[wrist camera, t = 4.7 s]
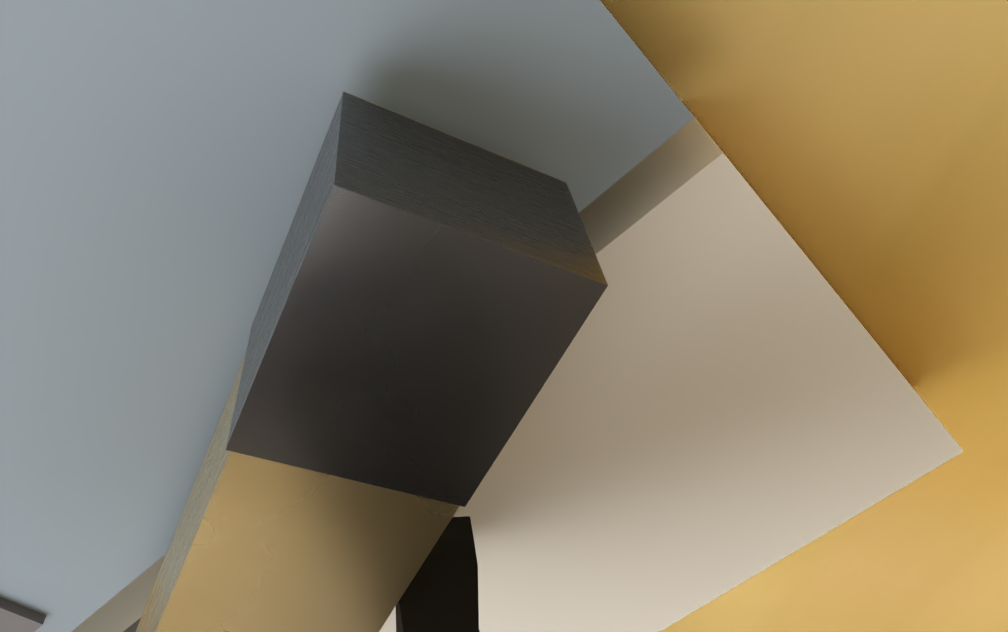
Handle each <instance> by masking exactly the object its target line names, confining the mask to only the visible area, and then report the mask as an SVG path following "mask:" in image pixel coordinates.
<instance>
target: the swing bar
mask: <svg viewBox="0 0 1008 632" xmlns="http://www.w3.org/2000/svg"><path fill="white" fill-rule="evenodd" d="M607 286H608V284H607V282H606V279H605V277H604V274H603V272H602V269H601V267H600V264H599V262H598V259H597V257H596V254H595V252H594V249H593V247H592V245H591V242H590V240H589V237H588V235H587V232H586V230H585V227H584V225H583V222H582V220H581V217H580V215H579V213H578V210H577V208H576V205H575V203H574V200H573V198H572V195H571V193H570V190H569V188H568V185H567V183H566V182H563V181H562V180H560V179H558V178H555V177H553V176H550V175H548V174H546V173H543V172H541V171H538V170H536V169H533V168H531V167H528V166H526V165H524V164H521V163H519V162H516V161H514V160H511V159H509V158H506V157H504V156H502V155H499V154H497V153H494V152H492V151H489V150H487V149H484V148H482V147H479V146H477V145H475V144H472V143H470V142H467V141H465V140H462V139H460V138H457V137H455V136H453V135H450V134H448V133H445V132H443V131H440V130H438V129H435V128H433V127H431V126H428V125H426V124H423V123H421V122H418V121H416V120H413V119H411V118H409V117H406V116H404V115H401V114H399V113H396V112H394V111H391V110H389V109H387V108H384V107H382V106H379V105H377V104H374V103H372V102H369V101H367V100H365V99H362V98H360V97H357V96H355V95H352V94H350V93H346V92H343V93H342V96H341V98H340V101H339V103H338V106H337V109H336V111H335V114H334V116H333V119H332V121H331V124H330V127H329V129H328V132H327V134H326V137H325V139H324V142H323V144H322V147H321V150H320V152H319V155H318V157H317V160H316V162H315V165H314V167H313V170H312V173H311V175H310V178H309V180H308V183H307V185H306V188H305V190H304V193H303V196H302V198H301V201H300V203H299V206H298V208H297V211H296V213H295V216H294V219H293V221H292V224H291V226H290V229H289V231H288V234H287V237H286V239H285V242H284V244H283V247H282V249H281V252H280V254H279V257H278V260H277V262H276V265H275V267H274V270H273V272H272V275H271V277H270V280H269V283H268V285H267V288H266V290H265V293H264V295H263V298H262V300H261V303H260V306H259V308H258V311H257V313H256V316H255V318H254V321H253V323H252V327H251V331H250V336H249V341H248V346H247V350H246V353H245V356H244V358H243V361H242V363H241V366H240V368H239V371H238V373H237V376H236V378H235V381H234V383H233V386H232V389H231V391H230V394H229V396H228V399H227V401H226V404H225V406H224V409H223V411H222V414H221V416H220V419H219V421H218V424H217V427H216V429H215V432H214V434H213V437H212V439H211V442H210V444H209V447H208V449H207V452H206V454H205V457H204V460H203V462H202V465H201V467H200V470H199V472H198V475H197V477H196V480H195V482H194V485H193V487H192V490H191V492H190V495H189V498H188V500H187V503H186V505H185V508H184V510H183V513H182V515H181V518H180V520H179V523H178V525H177V528H176V530H175V533H174V536H173V538H172V541H171V543H170V546H169V548H168V551H167V553H166V556H165V558H164V561H163V563H162V566H161V569H160V571H159V574H158V576H157V579H156V581H155V584H154V586H153V589H152V591H151V594H150V596H149V599H148V601H147V604H146V607H145V609H144V612H143V614H142V617H141V619H140V622H139V624H138V627H137V629H136V632H379V631H380V630H381V628H382V626H383V625H384V623H385V622H386V620H387V619H388V617H389V616H390V614H391V612H392V611H393V609H394V608H395V606H396V605H397V603H398V601H399V600H400V598H401V597H402V595H403V594H404V592H405V591H406V589H407V587H408V586H409V584H410V583H411V581H412V580H413V578H414V577H415V575H416V573H417V572H418V570H419V569H420V567H421V566H422V564H423V562H424V561H425V559H426V558H427V556H428V555H429V553H430V552H431V550H432V548H433V547H434V545H435V544H436V542H437V541H438V539H439V537H440V536H441V534H442V533H443V531H444V530H445V528H446V527H447V525H448V523H449V522H450V520H451V519H452V517H453V516H454V514H455V512H456V511H457V509H458V508H459V506H463V507H465V506H466V505H467V503H468V502H469V500H470V499H471V497H472V495H473V494H474V492H475V491H476V489H477V488H478V486H479V485H480V483H481V482H482V480H483V478H484V477H485V475H486V474H487V472H488V471H489V469H490V468H491V466H492V465H493V463H494V461H495V460H496V458H497V457H498V455H499V454H500V452H501V451H502V449H503V447H504V446H505V444H506V443H507V441H508V440H509V438H510V437H511V435H512V434H513V432H514V430H515V429H516V427H517V426H518V424H519V423H520V421H521V420H522V418H523V417H524V415H525V413H526V412H527V410H528V409H529V407H530V406H531V404H532V403H533V401H534V399H535V398H536V396H537V395H538V393H539V392H540V390H541V389H542V387H543V386H544V384H545V382H546V381H547V379H548V378H549V376H550V375H551V373H552V372H553V370H554V368H555V367H556V365H557V364H558V362H559V361H560V359H561V358H562V356H563V355H564V353H565V351H566V350H567V348H568V347H569V345H570V344H571V342H572V341H573V339H574V338H575V336H576V334H577V333H578V331H579V330H580V328H581V327H582V325H583V324H584V322H585V320H586V319H587V317H588V316H589V314H590V313H591V311H592V310H593V308H594V307H595V305H596V303H597V302H598V300H599V299H600V297H601V296H602V294H603V293H604V291H605V290H606V288H607Z"/></svg>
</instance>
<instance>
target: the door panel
mask: <svg viewBox="0 0 1008 632" xmlns="http://www.w3.org/2000/svg"><path fill="white" fill-rule="evenodd" d="M343 92H346V93H350V94H352V95H355V96H357V97H360V98H362V99H365V100H367V101H369V102H372V103H374V104H377V105H379V106H382V107H384V108H387V109H389V110H391V111H394V112H396V113H399V114H401V115H404V116H406V117H409V118H411V119H413V120H416V121H418V122H421V123H423V124H426V125H428V126H431V127H433V128H435V129H438V130H440V131H443V132H445V133H448V134H450V135H453V136H455V137H457V138H460V139H462V140H465V141H467V142H470V143H472V144H475V145H477V146H479V147H482V148H484V149H487V150H489V151H492V152H494V153H497V154H499V155H502V156H504V157H506V158H509V159H511V160H514V161H516V162H519V163H521V164H524V165H526V166H528V167H531V168H533V169H536V170H538V171H541V172H543V173H546V174H548V175H550V176H553V177H555V178H558V179H560V180H562V181H563V182H566V183H567V185H568V188H569V190H570V193H571V195H572V198H573V200H574V203H575V205H576V208H577V210H578V213H579V212H581V211H582V210H583V209H584V208H585V207H587V206H588V205H589V204H590V203H591V202H593V201H594V200H595V199H596V198H597V197H599V196H600V195H601V194H602V193H604V192H605V191H606V190H607V189H608V188H610V187H611V186H612V185H613V184H614V183H616V182H617V181H618V180H619V179H621V178H622V177H623V176H624V175H625V174H627V173H628V172H629V171H630V170H631V169H633V168H634V167H635V166H636V165H637V164H639V163H640V162H641V161H642V160H644V159H645V158H646V157H647V156H648V155H650V154H651V153H652V152H653V151H654V150H656V149H657V148H658V147H659V146H661V145H662V144H663V143H664V142H665V141H667V140H668V139H669V138H670V137H671V136H673V135H674V134H675V133H676V132H677V131H679V130H680V129H681V128H682V127H684V126H685V125H686V124H687V123H688V122H690V121H691V120H692V119H693V118H694V116H693V115H692V114H691V113H690V111H689V110H688V109H687V108H686V106H685V105H684V104H683V103H682V101H681V100H680V99H679V97H678V96H677V95H676V94H675V92H674V91H673V90H672V89H671V87H670V86H669V85H668V84H667V82H666V81H665V80H664V79H663V77H662V76H661V75H660V74H659V72H658V71H657V70H656V69H655V67H654V66H653V65H652V64H651V62H650V61H649V60H648V59H647V57H646V56H645V55H644V54H643V52H642V51H641V50H640V49H639V48H638V46H637V45H636V44H635V43H634V41H633V40H632V39H631V38H630V36H629V35H628V34H627V33H626V31H625V30H624V29H623V28H622V26H621V25H620V24H619V23H618V21H617V20H616V19H615V18H614V17H613V15H612V14H611V13H610V12H609V10H608V9H607V8H606V7H605V5H604V4H603V3H602V2H601V0H0V632H72V631H73V630H74V629H75V628H76V627H78V626H79V625H80V624H81V623H82V622H84V621H85V620H86V619H87V618H89V617H90V616H91V615H92V614H93V613H95V612H96V611H97V610H98V609H99V608H101V607H102V606H103V605H104V604H106V603H107V602H108V601H109V600H110V599H112V598H113V597H114V596H115V595H116V594H118V593H119V592H120V591H121V590H122V589H124V588H125V587H126V586H127V585H129V584H130V583H131V582H132V581H133V580H135V579H136V578H137V577H138V576H139V575H141V574H142V573H143V572H144V571H145V570H147V569H148V568H149V567H150V566H152V565H153V564H154V563H155V562H156V561H158V560H159V559H160V558H161V557H162V556H164V555H165V554H166V553H167V551H168V548H169V546H170V543H171V541H172V538H173V536H174V533H175V530H176V528H177V525H178V523H179V520H180V518H181V515H182V513H183V510H184V508H185V505H186V503H187V500H188V498H189V495H190V492H191V490H192V487H193V485H194V482H195V480H196V477H197V475H198V472H199V470H200V467H201V465H202V462H203V460H204V457H205V454H206V452H207V449H208V447H209V444H210V442H211V439H212V437H213V434H214V432H215V429H216V427H217V424H218V421H219V419H220V416H221V414H222V411H223V409H224V406H225V404H226V401H227V399H228V396H229V394H230V391H231V389H232V386H233V383H234V381H235V378H236V376H237V373H238V371H239V368H240V366H241V363H242V361H243V358H244V356H245V353H246V350H247V346H248V341H249V336H250V331H251V327H252V323H253V321H254V318H255V316H256V313H257V311H258V308H259V306H260V303H261V300H262V298H263V295H264V293H265V290H266V288H267V285H268V283H269V280H270V277H271V275H272V272H273V270H274V267H275V265H276V262H277V260H278V257H279V254H280V252H281V249H282V247H283V244H284V242H285V239H286V237H287V234H288V231H289V229H290V226H291V224H292V221H293V219H294V216H295V213H296V211H297V208H298V206H299V203H300V201H301V198H302V196H303V193H304V190H305V188H306V185H307V183H308V180H309V178H310V175H311V173H312V170H313V167H314V165H315V162H316V160H317V157H318V155H319V152H320V150H321V147H322V144H323V142H324V139H325V137H326V134H327V132H328V129H329V127H330V124H331V121H332V119H333V116H334V114H335V111H336V109H337V106H338V103H339V101H340V98H341V96H342V93H343Z"/></svg>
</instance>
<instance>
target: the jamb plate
mask: <svg viewBox="0 0 1008 632" xmlns="http://www.w3.org/2000/svg"><path fill="white" fill-rule="evenodd" d="M686 108H687V107H686ZM687 109H688V108H687ZM690 113H691V112H690ZM691 114H692V113H691ZM692 115H693V114H692ZM579 215H580V217H581V220H582V222H583V225H584V227H585V230H586V232H587V235H588V237H589V240H590V242H591V245H592V247H593V249H594V252H595V254H596V257H597V259H598V262H599V264H600V267H601V269H602V272H603V274H604V277H605V279H606V282H607V284H608V286H607V288H606V290H605V291H604V293H603V294H602V296H601V297H600V299H599V300H598V302H597V303H596V305H595V307H594V308H593V310H592V311H591V313H590V314H589V316H588V317H587V319H586V320H585V322H584V324H583V325H582V327H581V328H580V330H579V331H578V333H577V334H576V336H575V338H574V339H573V341H572V342H571V344H570V345H569V347H568V348H567V350H566V351H565V353H564V355H563V356H562V358H561V359H560V361H559V362H558V364H557V365H556V367H555V368H554V370H553V372H552V373H551V375H550V376H549V378H548V379H547V381H546V382H545V384H544V386H543V387H542V389H541V390H540V392H539V393H538V395H537V396H536V398H535V399H534V401H533V403H532V404H531V406H530V407H529V409H528V410H527V412H526V413H525V415H524V417H523V418H522V420H521V421H520V423H519V424H518V426H517V427H516V429H515V430H514V432H513V434H512V435H511V437H510V438H509V440H508V441H507V443H506V444H505V446H504V447H503V449H502V451H501V452H500V454H499V455H498V457H497V458H496V460H495V461H494V463H493V465H492V466H491V468H490V469H489V471H488V472H487V474H486V475H485V477H484V478H483V480H482V482H481V483H480V485H479V486H478V488H477V489H476V491H475V492H474V494H473V495H472V497H471V499H470V500H469V502H468V503H467V505H466V506H465V507H463V506H459V508H458V509H457V511H456V512H455V514H454V516H453V517H464V516H470V519H471V525H472V531H473V537H474V543H475V550H476V557H477V563H478V609H479V631H480V632H660V631H662V630H663V629H665V628H667V627H668V626H670V625H672V624H674V623H675V622H677V621H679V620H680V619H682V618H684V617H685V616H687V615H689V614H690V613H692V612H694V611H695V610H697V609H699V608H701V607H702V606H704V605H706V604H707V603H709V602H711V601H712V600H714V599H716V598H717V597H719V596H721V595H722V594H724V593H726V592H728V591H729V590H731V589H733V588H734V587H736V586H738V585H739V584H741V583H743V582H744V581H746V580H748V579H749V578H751V577H753V576H755V575H756V574H758V573H760V572H761V571H763V570H765V569H766V568H768V567H770V566H771V565H773V564H775V563H776V562H778V561H780V560H782V559H783V558H785V557H787V556H788V555H790V554H792V553H793V552H795V551H797V550H798V549H800V548H802V547H803V546H805V545H807V544H809V543H810V542H812V541H814V540H815V539H817V538H819V537H820V536H822V535H824V534H825V533H827V532H829V531H830V530H832V529H834V528H836V527H837V526H839V525H841V524H842V523H844V522H846V521H847V520H849V519H851V518H852V517H854V516H856V515H857V514H859V513H861V512H863V511H864V510H866V509H868V508H869V507H871V506H873V505H874V504H876V503H878V502H879V501H881V500H883V499H884V498H886V497H888V496H890V495H891V494H893V493H895V492H896V491H898V490H900V489H901V488H903V487H905V486H906V485H908V484H910V483H911V482H913V481H915V480H917V479H918V478H920V477H922V476H923V475H925V474H927V473H928V472H930V471H932V470H933V469H935V468H937V467H938V466H940V465H942V464H944V463H945V462H947V461H949V460H950V459H952V458H954V457H955V456H957V455H959V454H960V453H962V452H964V451H963V450H962V448H961V447H960V446H959V445H958V443H957V442H956V441H955V440H954V438H953V437H952V436H951V435H950V433H949V432H948V431H947V430H946V428H945V427H944V426H943V425H942V423H941V422H940V421H939V420H938V418H937V417H936V416H935V415H934V413H933V412H932V411H931V410H930V408H929V407H928V406H927V405H926V403H925V402H924V401H923V400H922V398H921V397H920V396H919V395H918V393H917V392H916V391H915V390H914V388H913V387H912V386H911V385H910V384H909V382H908V381H907V380H906V379H905V377H904V376H903V375H902V374H901V372H900V371H899V370H898V369H897V367H896V366H895V365H894V364H893V362H892V361H891V360H890V359H889V357H888V356H887V355H886V354H885V353H884V351H883V350H882V349H881V348H880V346H879V345H878V344H877V343H876V341H875V340H874V339H873V338H872V336H871V335H870V334H869V333H868V331H867V330H866V329H865V328H864V326H863V325H862V324H861V323H860V322H859V320H858V319H857V318H856V317H855V315H854V314H853V313H852V312H851V310H850V309H849V308H848V307H847V305H846V304H845V303H844V302H843V300H842V299H841V298H840V297H839V295H838V294H837V293H836V292H835V291H834V289H833V288H832V287H831V286H830V284H829V283H828V282H827V281H826V279H825V278H824V277H823V276H822V274H821V273H820V272H819V271H818V269H817V268H816V267H815V266H814V265H813V263H812V262H811V261H810V260H809V258H808V257H807V256H806V255H805V253H804V252H803V251H802V250H801V248H800V247H799V246H798V245H797V243H796V242H795V241H794V240H793V238H792V237H791V236H790V235H789V234H788V232H787V231H786V230H785V229H784V227H783V226H782V225H781V224H780V222H779V221H778V220H777V219H776V217H775V216H774V215H773V214H772V212H771V211H770V210H769V209H768V207H767V206H766V205H765V204H764V203H763V201H762V200H761V199H760V198H759V196H758V195H757V194H756V193H755V191H754V190H753V189H752V188H751V186H750V185H749V184H748V183H747V181H746V180H745V179H744V178H743V176H742V175H741V174H740V173H739V172H738V170H737V169H736V168H735V167H734V165H733V164H732V163H731V162H730V160H729V159H728V158H727V157H726V155H725V154H724V153H723V152H722V150H721V149H720V148H719V147H718V145H717V144H716V143H715V142H714V141H713V139H712V138H711V137H710V136H709V134H708V133H707V132H706V131H705V129H704V128H703V127H702V126H701V124H700V123H699V122H698V121H697V119H696V118H695V117H694V118H693V119H692V120H691V121H690V122H688V123H687V124H686V125H685V126H684V127H682V128H681V129H680V130H679V131H677V132H676V133H675V134H674V135H673V136H671V137H670V138H669V139H668V140H667V141H665V142H664V143H663V144H662V145H661V146H659V147H658V148H657V149H656V150H654V151H653V152H652V153H651V154H650V155H648V156H647V157H646V158H645V159H644V160H642V161H641V162H640V163H639V164H637V165H636V166H635V167H634V168H633V169H631V170H630V171H629V172H628V173H627V174H625V175H624V176H623V177H622V178H621V179H619V180H618V181H617V182H616V183H614V184H613V185H612V186H611V187H610V188H608V189H607V190H606V191H605V192H604V193H602V194H601V195H600V196H599V197H597V198H596V199H595V200H594V201H593V202H591V203H590V204H589V205H588V206H587V207H585V208H584V209H583V210H582V211H581V212H579ZM165 556H166V554H165V555H164V556H162V557H161V558H160V559H159V560H158V561H156V562H155V563H154V564H153V565H152V566H150V567H149V568H148V569H147V570H145V571H144V572H143V573H142V574H141V575H139V576H138V577H137V578H136V579H135V580H133V581H132V582H131V583H130V584H129V585H127V586H126V587H125V588H124V589H122V590H121V591H120V592H119V593H118V594H116V595H115V596H114V597H113V598H112V599H110V600H109V601H108V602H107V603H106V604H104V605H103V606H102V607H101V608H99V609H98V610H97V611H96V612H95V613H93V614H92V615H91V616H90V617H89V618H87V619H86V620H85V621H84V622H82V623H81V624H80V625H79V626H78V627H76V628H75V629H74V630H73V631H72V632H136V629H137V627H138V624H139V622H140V619H141V617H142V614H143V612H144V609H145V607H146V604H147V601H148V599H149V596H150V594H151V591H152V589H153V586H154V584H155V581H156V579H157V576H158V574H159V571H160V569H161V566H162V563H163V561H164V558H165ZM379 632H396V606H395V608H394V609H393V611H392V612H391V614H390V616H389V617H388V619H387V620H386V622H385V623H384V625H383V626H382V628H381V630H380V631H379Z"/></svg>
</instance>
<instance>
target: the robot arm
mask: <svg viewBox="0 0 1008 632" xmlns="http://www.w3.org/2000/svg"><path fill="white" fill-rule="evenodd" d="M396 632H480V631H479V609H478V563H477V557H476V550H475V543H474V537H473V531H472V525H471V519H470V516H464V517H452V519H451V520H450V522H449V523H448V525H447V527H446V528H445V530H444V531H443V533H442V534H441V536H440V537H439V539H438V541H437V542H436V544H435V545H434V547H433V548H432V550H431V552H430V553H429V555H428V556H427V558H426V559H425V561H424V562H423V564H422V566H421V567H420V569H419V570H418V572H417V573H416V575H415V577H414V578H413V580H412V581H411V583H410V584H409V586H408V587H407V589H406V591H405V592H404V594H403V595H402V597H401V598H400V600H399V601H398V603H397V605H396Z"/></svg>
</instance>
